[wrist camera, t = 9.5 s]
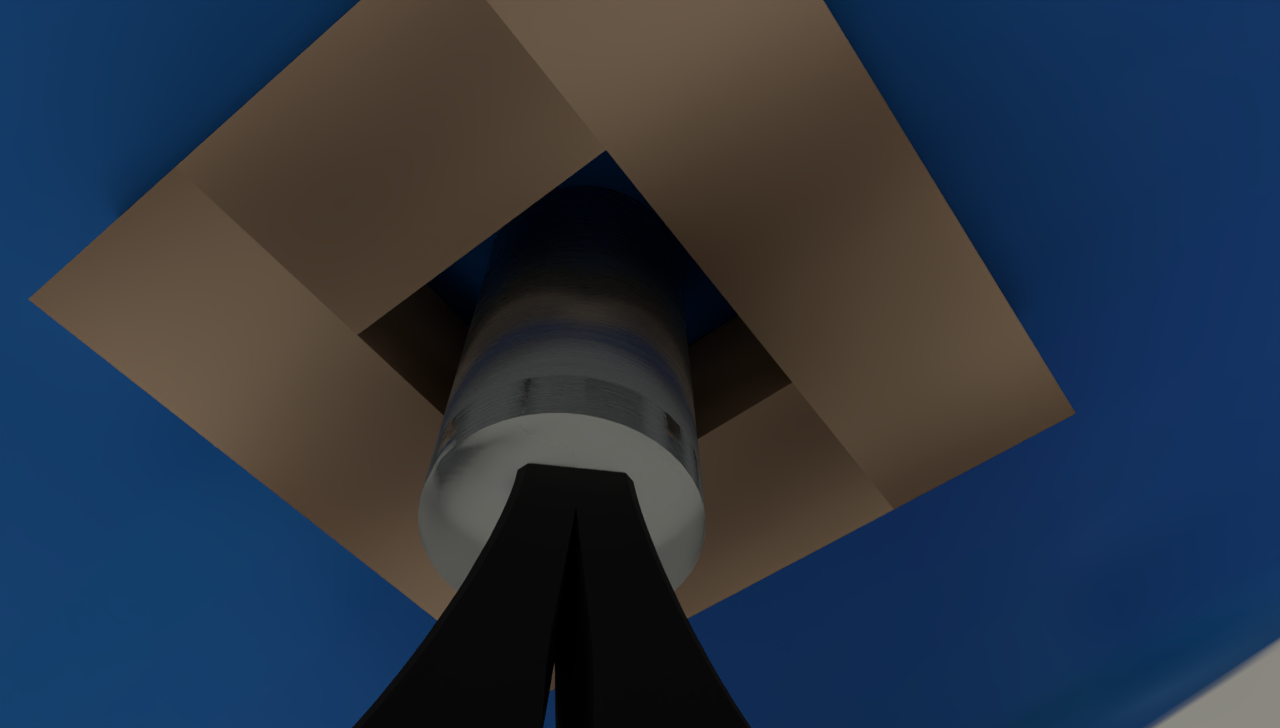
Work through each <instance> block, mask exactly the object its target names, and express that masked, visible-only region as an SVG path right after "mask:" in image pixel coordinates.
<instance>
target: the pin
mask: <svg viewBox="0 0 1280 728" xmlns="http://www.w3.org/2000/svg"><path fill="white" fill-rule="evenodd" d="M527 463H529V464H539V465H550V466H560V467H570V468H580V469H590V470H601V471H611V472H621V473H627V475H628V476H629V477H630V478H631V479H632V480H633V481H634V486H635V490H636V494H637V498H638V501H639V504H640V508H641V511H642V514H643V517H644V520H645V522H646V525H647V528H648V531H649V533H650V536H651V539H652V541H653V544H654V546H655V549H656V551H657V554H658V556H659V559H660V561H661V563H662V566H663V568H664V570H665V573H666V575H667V577H668V579H669V581H670V583H671V585H672V588H673V590H674V591H675V590H676V589H677V588H678V587H679V586H680V585H681V584H682V583H683V582H684V580H685V579H686V578H687V577H688V575H689V574H690V573H691V571H692V569H693V568H694V566H695V564H696V563H697V561H698V558H699V556H700V553H701V550H702V548H703V543H704V538H705V528H706V518H705V508H704V498H703V489H702V479H701V469H700V459H699V449H698V440H697V430H696V420H695V410H694V401H693V391H692V381H691V371H690V362H689V352H688V342H687V332H686V322H685V313H684V303H683V293H682V283H681V274H680V265H679V258H678V254H677V251H676V247H675V245H674V243H673V241H672V238H671V236H670V235H669V233H668V231H667V230H666V228H665V227H664V225H663V224H662V223H661V222H660V221H659V219H658V218H657V217H656V216H655V215H654V214H653V213H652V212H650V211H649V210H648V209H647V208H646V207H644V206H643V205H641V204H640V203H639V202H637V201H635V200H633V199H632V198H630V197H628V196H626V195H623V194H621V193H618V192H615V191H612V190H608V189H604V188H599V187H589V186H575V187H567V188H560V189H557V190H553V191H550V192H549V193H547V194H546V195H545V196H543V197H542V198H541V199H539V200H538V201H537V202H535V203H534V204H533V205H531V206H530V207H529V208H527V209H526V210H525V211H523V212H522V213H521V214H519V215H518V216H517V217H515V218H514V219H512V220H511V221H510V222H508V223H507V224H506V225H504V226H503V227H502V228H501V230H500V232H499V234H498V236H497V238H496V240H495V243H494V246H493V249H492V252H491V255H490V259H489V262H488V266H487V269H486V273H485V276H484V279H483V283H482V286H481V290H480V293H479V297H478V300H477V304H476V307H475V310H474V314H473V317H472V321H471V324H470V328H469V331H468V335H467V338H466V341H465V345H464V348H463V352H462V355H461V359H460V362H459V366H458V369H457V372H456V376H455V379H454V383H453V386H452V390H451V393H450V396H449V400H448V403H447V407H446V410H445V414H444V417H443V421H442V424H441V427H440V431H439V434H438V438H437V441H436V445H435V448H434V452H433V455H432V458H431V462H430V465H429V469H428V472H427V476H426V479H425V483H424V486H423V489H422V493H421V496H420V502H419V508H418V527H419V532H420V537H421V541H422V544H423V546H424V549H425V552H426V554H427V556H428V558H429V559H430V561H431V563H432V565H433V566H434V568H435V569H436V570H437V572H438V573H439V574H440V576H441V577H442V578H443V579H444V580H445V581H446V582H447V583H448V584H449V585H450V586H451V587H452V588H453V589H454V590H455V591H458V590H459V588H460V586H461V585H462V583H463V582H464V580H465V578H466V577H467V575H468V573H469V572H470V570H471V568H472V567H473V565H474V563H475V561H476V560H477V558H478V556H479V555H480V553H481V551H482V549H483V548H484V546H485V544H486V543H487V541H488V539H489V537H490V535H491V533H492V531H493V529H494V527H495V525H496V523H497V521H498V519H499V518H500V516H501V513H502V511H503V509H504V507H505V505H506V502H507V500H508V498H509V495H510V492H511V490H512V487H513V484H514V481H515V478H516V474H517V470H518V469H520V468H521V467H523V466H524V465H526V464H527Z"/></svg>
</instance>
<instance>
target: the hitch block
mask: <svg viewBox="0 0 1280 728" xmlns="http://www.w3.org/2000/svg"><path fill="white" fill-rule="evenodd" d="M605 150H607V152H608V153H609V154H610V155H611V157H612V158H613V159H614V160H615V162H616V163H617V164H618V165H619V167H620V168H621V169H622V170H623V172H624V173H625V174H626V175H627V177H628V178H629V179H630V180H631V182H632V183H633V184H634V185H635V187H636V188H637V189H638V190H639V192H640V193H641V194H642V195H643V197H644V198H645V199H646V200H647V202H648V203H649V204H650V205H651V207H652V208H653V209H654V210H655V212H656V213H657V214H658V215H659V217H660V218H661V219H662V220H663V222H664V223H665V224H666V225H667V227H668V228H669V229H670V230H671V231H672V233H673V234H674V235H675V236H676V238H677V239H678V240H679V241H680V243H681V244H682V245H683V246H684V248H685V249H686V250H687V251H688V253H689V254H690V255H691V256H692V258H693V259H694V260H695V261H696V263H697V264H698V265H699V266H700V268H701V269H702V270H703V271H704V273H705V274H706V275H707V276H708V278H709V279H710V280H711V281H712V283H713V284H714V285H715V286H716V288H717V289H718V290H719V291H720V293H721V294H722V295H723V296H724V298H725V299H726V300H727V301H728V303H729V304H730V305H731V306H732V308H733V309H734V310H735V311H736V313H737V314H738V316H736V317H735V318H733V319H731V320H730V321H728V322H727V323H725V324H724V325H722V326H720V327H719V328H717V329H716V330H714V331H713V332H711V333H709V334H708V335H706V336H705V337H703V338H702V339H700V340H699V341H697V342H695V343H694V344H692V345H691V346H689V347H688V352H689V362H690V371H691V381H692V391H693V401H694V410H695V420H696V430H697V440H698V449H699V459H700V469H701V479H702V489H703V498H704V508H705V518H706V528H705V538H704V543H703V548H702V550H701V553H700V556H699V558H698V561H697V563H696V564H695V566H694V568H693V569H692V571H691V573H690V574H689V575H688V577H687V578H686V579H685V580H684V582H683V583H682V584H681V585H680V586H679V587H678V588H677V589H676V590H675V591H674V592H675V594H676V596H677V598H678V600H679V603H680V605H681V607H682V609H683V611H684V613H685V615H686V617H687V618H689V617H691V616H693V615H695V614H697V613H699V612H701V611H703V610H705V609H706V608H708V607H710V606H712V605H714V604H716V603H718V602H720V601H722V600H723V599H725V598H727V597H729V596H731V595H733V594H735V593H737V592H739V591H740V590H742V589H744V588H746V587H748V586H750V585H752V584H754V583H756V582H758V581H759V580H761V579H763V578H765V577H767V576H769V575H771V574H773V573H775V572H776V571H778V570H780V569H782V568H784V567H786V566H788V565H790V564H792V563H793V562H795V561H797V560H799V559H801V558H803V557H805V556H807V555H809V554H811V553H812V552H814V551H816V550H818V549H820V548H822V547H824V546H826V545H828V544H829V543H831V542H833V541H835V540H837V539H839V538H841V537H843V536H845V535H846V534H848V533H850V532H852V531H854V530H856V529H858V528H860V527H862V526H864V525H865V524H867V523H869V522H871V521H873V520H875V519H877V518H879V517H881V516H882V515H884V514H886V513H888V512H890V511H892V510H894V509H896V508H898V507H899V506H901V505H903V504H905V503H907V502H909V501H911V500H913V499H915V498H917V497H918V496H920V495H922V494H924V493H926V492H928V491H930V490H932V489H934V488H935V487H937V486H939V485H941V484H943V483H945V482H947V481H949V480H951V479H952V478H954V477H956V476H958V475H960V474H962V473H964V472H966V471H968V470H970V469H971V468H973V467H975V466H977V465H979V464H981V463H983V462H985V461H987V460H988V459H990V458H992V457H994V456H996V455H998V454H1000V453H1002V452H1004V451H1005V450H1007V449H1009V448H1011V447H1013V446H1015V445H1017V444H1019V443H1021V442H1023V441H1024V440H1026V439H1028V438H1030V437H1032V436H1034V435H1036V434H1038V433H1040V432H1041V431H1043V430H1045V429H1047V428H1049V427H1051V426H1053V425H1055V424H1057V423H1059V422H1060V421H1062V420H1064V419H1066V418H1068V417H1070V416H1072V415H1074V414H1076V413H1075V412H1074V410H1073V408H1072V407H1071V405H1070V403H1069V402H1068V400H1067V398H1066V397H1065V395H1064V394H1063V392H1062V390H1061V389H1060V387H1059V385H1058V384H1057V382H1056V380H1055V379H1054V377H1053V376H1052V374H1051V372H1050V371H1049V369H1048V367H1047V366H1046V364H1045V362H1044V361H1043V359H1042V358H1041V356H1040V354H1039V353H1038V351H1037V349H1036V348H1035V346H1034V344H1033V343H1032V341H1031V339H1030V338H1029V336H1028V335H1027V333H1026V331H1025V330H1024V328H1023V326H1022V325H1021V323H1020V321H1019V320H1018V318H1017V317H1016V315H1015V313H1014V312H1013V310H1012V308H1011V307H1010V305H1009V303H1008V302H1007V300H1006V299H1005V297H1004V295H1003V294H1002V292H1001V290H1000V289H999V287H998V285H997V284H996V282H995V281H994V279H993V277H992V276H991V274H990V272H989V271H988V269H987V267H986V266H985V264H984V263H983V261H982V259H981V258H980V256H979V254H978V253H977V251H976V249H975V248H974V246H973V245H972V243H971V241H970V240H969V238H968V236H967V235H966V233H965V231H964V230H963V228H962V226H961V225H960V223H959V222H958V220H957V218H956V217H955V215H954V213H953V212H952V210H951V208H950V207H949V205H948V204H947V202H946V200H945V199H944V197H943V195H942V194H941V192H940V190H939V189H938V187H937V186H936V184H935V182H934V181H933V179H932V177H931V176H930V174H929V172H928V171H927V169H926V168H925V166H924V164H923V163H922V161H921V159H920V158H919V156H918V154H917V153H916V151H915V150H914V148H913V146H912V145H911V143H910V141H909V140H908V138H907V136H906V135H905V133H904V132H903V130H902V128H901V127H900V125H899V123H898V122H897V120H896V118H895V117H894V115H893V114H892V112H891V110H890V109H889V107H888V105H887V104H886V102H885V100H884V99H883V97H882V95H881V94H880V92H879V91H878V89H877V87H876V86H875V84H874V82H873V81H872V79H871V77H870V76H869V74H868V73H867V71H866V69H865V68H864V66H863V64H862V63H861V61H860V59H859V58H858V56H857V55H856V53H855V51H854V50H853V48H852V46H851V45H850V43H849V41H848V40H847V38H846V37H845V35H844V33H843V32H842V30H841V28H840V27H839V25H838V23H837V22H836V20H835V19H834V17H833V15H832V14H831V12H830V10H829V9H828V7H827V5H826V4H825V2H824V1H823V0H360V1H359V2H358V3H357V4H356V5H355V6H354V7H353V8H351V9H350V10H349V11H348V12H347V13H346V14H345V15H344V16H343V17H341V18H340V19H339V20H338V21H337V22H336V23H335V24H334V25H333V26H331V27H330V28H329V29H328V30H327V31H326V32H325V33H324V34H323V35H321V36H320V37H319V38H318V39H317V40H316V41H315V42H314V43H313V44H311V45H310V46H309V47H308V48H307V49H306V50H305V51H304V52H303V53H301V54H300V55H299V56H298V57H297V58H296V59H295V60H294V61H293V62H291V63H290V64H289V65H288V66H287V67H286V68H285V69H284V70H283V71H281V72H280V73H279V74H278V75H277V76H276V77H275V78H274V79H273V80H271V81H270V82H269V83H268V84H267V85H266V86H265V87H264V88H263V89H261V90H260V91H259V92H258V93H257V94H256V95H255V96H254V97H253V98H251V99H250V100H249V101H248V102H247V103H246V104H245V105H244V106H243V107H241V108H240V109H239V110H238V111H237V112H236V113H235V114H234V115H233V116H231V117H230V118H229V119H228V120H227V121H226V122H225V123H224V124H223V125H221V126H220V127H219V128H218V129H217V130H216V131H215V132H214V133H213V134H211V135H210V136H209V137H208V138H207V139H206V140H205V141H204V142H203V143H201V144H200V145H199V146H198V147H197V148H196V149H195V150H194V151H193V152H191V153H190V154H189V155H188V156H187V157H186V158H185V159H184V160H183V161H181V162H180V163H179V164H178V165H177V166H176V167H175V168H174V169H173V170H171V171H170V172H169V173H168V174H167V175H166V176H165V177H164V178H163V179H161V180H160V181H159V182H158V183H157V184H156V185H155V186H154V187H153V188H151V189H150V190H149V191H148V192H147V193H146V194H145V195H144V196H143V197H141V198H140V199H139V200H138V201H137V202H136V203H135V204H134V205H133V206H131V207H130V208H129V209H128V210H127V211H126V212H125V213H124V214H123V215H121V216H120V217H119V218H118V219H117V220H116V221H115V222H114V223H113V224H111V225H110V226H109V227H108V228H107V229H106V230H105V231H104V232H103V233H101V234H100V235H99V236H98V237H97V238H96V239H95V240H94V241H93V242H91V243H90V244H89V245H88V246H87V247H86V248H85V249H84V250H83V251H81V252H80V253H79V254H78V255H77V256H76V257H75V258H74V259H73V260H71V261H70V262H69V263H68V264H67V265H66V266H65V267H64V268H63V269H61V270H60V271H59V272H58V273H57V274H56V275H55V276H54V277H53V278H51V279H50V280H49V281H48V282H47V283H46V284H45V285H44V286H43V287H41V288H40V289H39V290H38V291H37V292H36V293H35V294H34V295H33V296H31V297H30V298H29V300H30V301H31V302H32V303H34V304H35V305H36V306H38V307H39V308H40V309H41V310H43V311H44V312H45V313H46V314H48V315H49V316H50V317H52V318H53V319H54V320H55V321H57V322H58V323H59V324H60V325H62V326H63V327H64V328H66V329H67V330H68V331H69V332H71V333H72V334H73V335H75V336H76V337H77V338H78V339H80V340H81V341H82V342H83V343H85V344H86V345H87V346H89V347H90V348H91V349H92V350H94V351H95V352H96V353H97V354H99V355H100V356H101V357H103V358H104V359H105V360H106V361H108V362H109V363H110V364H111V365H113V366H114V367H115V368H117V369H118V370H119V371H120V372H122V373H123V374H124V375H125V376H127V377H128V378H129V379H131V380H132V381H133V382H134V383H136V384H137V385H138V386H139V387H141V388H142V389H143V390H145V391H146V392H147V393H148V394H150V395H151V396H152V397H153V398H155V399H156V400H157V401H159V402H160V403H161V404H162V405H164V406H165V407H166V408H167V409H169V410H170V411H171V412H173V413H174V414H175V415H176V416H178V417H179V418H180V419H181V420H183V421H184V422H185V423H187V424H188V425H189V426H190V427H192V428H193V429H194V430H195V431H197V432H198V433H199V434H201V435H202V436H203V437H204V438H206V439H207V440H208V441H209V442H211V443H212V444H213V445H215V446H216V447H217V448H218V449H220V450H221V451H222V452H223V453H225V454H226V455H227V456H229V457H230V458H231V459H232V460H234V461H235V462H236V463H237V464H239V465H240V466H241V467H243V468H244V469H245V470H246V471H248V472H249V473H250V474H252V475H253V476H254V477H255V478H257V479H258V480H259V481H260V482H262V483H263V484H264V485H266V486H267V487H268V488H269V489H271V490H272V491H273V492H274V493H276V494H277V495H278V496H280V497H281V498H282V499H283V500H285V501H286V502H287V503H288V504H290V505H291V506H292V507H294V508H295V509H296V510H297V511H299V512H300V513H301V514H302V515H304V516H305V517H306V518H308V519H309V520H310V521H311V522H313V523H314V524H315V525H316V526H318V527H319V528H320V529H322V530H323V531H324V532H325V533H327V534H328V535H329V536H330V537H332V538H333V539H334V540H336V541H337V542H338V543H339V544H341V545H342V546H343V547H344V548H346V549H347V550H348V551H350V552H351V553H352V554H353V555H355V556H356V557H357V558H358V559H360V560H361V561H362V562H364V563H365V564H366V565H367V566H369V567H370V568H371V569H372V570H374V571H375V572H376V573H378V574H379V575H380V576H381V577H383V578H384V579H385V580H386V581H388V582H389V583H390V584H392V585H393V586H394V587H395V588H397V589H398V590H399V591H400V592H402V593H403V594H404V595H406V596H407V597H408V598H409V599H411V600H412V601H413V602H414V603H416V604H417V605H418V606H420V607H421V608H422V609H423V610H425V611H426V612H427V613H429V614H430V615H431V616H432V617H434V618H435V619H436V620H438V619H439V617H440V616H441V615H442V613H443V612H444V610H445V609H446V607H447V606H448V604H449V603H450V601H451V600H452V598H453V597H454V596H455V594H456V593H457V591H455V590H454V589H453V588H452V587H451V586H450V585H449V584H448V583H447V582H446V581H445V580H444V579H443V578H442V577H441V576H440V574H439V573H438V572H437V570H436V569H435V568H434V566H433V565H432V563H431V561H430V559H429V558H428V556H427V554H426V552H425V549H424V546H423V544H422V541H421V537H420V532H419V527H418V508H419V502H420V496H421V493H422V489H423V486H424V483H425V479H426V476H427V472H428V469H429V465H430V462H431V458H432V455H433V452H434V448H435V445H436V441H437V438H438V434H439V431H440V427H441V424H442V421H443V417H444V414H445V410H446V407H447V403H448V400H449V396H450V393H451V390H452V386H453V383H454V379H455V376H456V372H457V369H458V366H459V362H460V359H461V355H462V352H463V348H464V345H465V341H466V338H467V335H468V331H469V328H470V327H469V326H468V325H467V324H466V323H465V322H464V321H463V320H462V319H461V318H460V317H459V316H458V315H457V314H456V313H455V312H454V311H453V310H452V309H451V308H450V307H449V306H448V305H447V304H446V303H445V302H444V301H443V300H442V299H441V298H440V297H439V296H438V295H437V294H436V293H435V292H434V291H433V290H432V289H431V288H430V287H429V286H428V285H427V284H426V283H428V282H429V281H430V280H432V279H433V278H435V277H436V276H437V275H439V274H440V273H441V272H443V271H444V270H445V269H447V268H448V267H449V266H451V265H452V264H453V263H455V262H456V261H457V260H459V259H460V258H461V257H463V256H464V255H465V254H467V253H468V252H469V251H471V250H472V249H473V248H475V247H476V246H478V245H479V244H480V243H482V242H483V241H484V240H486V239H487V238H488V237H490V236H491V235H492V234H494V233H495V232H496V231H498V230H499V229H500V228H502V227H503V226H504V225H506V224H507V223H508V222H510V221H511V220H512V219H514V218H515V217H517V216H518V215H519V214H521V213H522V212H523V211H525V210H526V209H527V208H529V207H530V206H531V205H533V204H534V203H535V202H537V201H538V200H539V199H541V198H542V197H543V196H545V195H546V194H547V193H549V192H550V191H551V190H553V189H554V188H556V187H557V186H558V185H560V184H561V183H562V182H564V181H565V180H566V179H568V178H569V177H570V176H572V175H573V174H574V173H576V172H577V171H578V170H580V169H581V168H582V167H584V166H585V165H586V164H588V163H589V162H590V161H592V160H593V159H594V158H596V157H597V156H599V155H600V154H601V153H603V152H604V151H605ZM553 689H555V663H554V669H553V674H552V680H551V686H550V691H551V690H553Z"/></svg>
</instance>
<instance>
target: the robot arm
mask: <svg viewBox="0 0 1280 728" xmlns="http://www.w3.org/2000/svg"><path fill="white" fill-rule="evenodd" d="M554 663H555V717H556V728H751V727H750V725H749V724H748V722H747V721H746V719H745V718H744V716H743V715H742V713H741V712H740V710H739V709H738V707H737V706H736V704H735V702H734V701H733V699H732V698H731V696H730V694H729V693H728V691H727V689H726V688H725V686H724V684H723V683H722V681H721V679H720V678H719V676H718V674H717V673H716V671H715V669H714V667H713V666H712V664H711V662H710V660H709V658H708V657H707V655H706V653H705V651H704V649H703V647H702V646H701V644H700V642H699V640H698V638H697V637H696V635H695V633H694V631H693V629H692V627H691V625H690V623H689V621H688V619H687V617H686V615H685V613H684V611H683V609H682V607H681V605H680V603H679V600H678V598H677V596H676V594H675V592H674V590H673V588H672V585H671V583H670V581H669V579H668V577H667V575H666V573H665V570H664V568H663V566H662V563H661V561H660V559H659V556H658V554H657V551H656V549H655V546H654V544H653V541H652V539H651V536H650V533H649V531H648V528H647V525H646V522H645V520H644V517H643V514H642V511H641V508H640V504H639V501H638V498H637V494H636V490H635V486H634V481H633V480H632V479H631V478H630V477H629V476H628V475H627V473H621V472H611V471H601V470H590V469H580V468H570V467H560V466H550V465H539V464H529V463H527V464H526V465H524V466H523V467H521V468H520V469H518V470H517V474H516V478H515V481H514V484H513V487H512V490H511V492H510V495H509V498H508V500H507V502H506V505H505V507H504V509H503V511H502V513H501V516H500V518H499V519H498V521H497V523H496V525H495V527H494V529H493V531H492V533H491V535H490V537H489V539H488V541H487V543H486V544H485V546H484V548H483V549H482V551H481V553H480V555H479V556H478V558H477V560H476V561H475V563H474V565H473V567H472V568H471V570H470V572H469V573H468V575H467V577H466V578H465V580H464V582H463V583H462V585H461V586H460V588H459V590H458V591H457V593H456V594H455V596H454V597H453V598H452V600H451V601H450V603H449V604H448V606H447V607H446V609H445V610H444V612H443V613H442V615H441V616H440V617H439V619H438V620H437V622H436V623H435V625H434V626H433V628H432V629H431V631H430V632H429V634H428V635H427V636H426V638H425V639H424V641H423V642H422V643H421V645H420V646H419V647H418V649H417V650H416V651H415V653H414V654H413V655H412V657H411V658H410V659H409V661H408V662H407V663H406V664H405V666H404V667H403V668H402V669H401V671H400V672H399V673H398V675H397V676H396V677H395V678H394V679H393V681H392V682H391V683H390V684H389V686H388V687H387V688H386V689H385V690H384V692H383V693H382V694H381V695H380V697H379V698H378V699H377V700H376V701H375V703H374V704H373V705H372V706H371V707H370V708H369V710H368V711H367V712H366V713H365V714H364V715H363V716H362V717H361V718H360V720H359V721H358V722H357V723H356V724H355V725H354V726H353V727H352V728H543V725H544V720H545V714H546V708H547V703H548V697H549V691H550V686H551V680H552V674H553V669H554Z"/></svg>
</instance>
